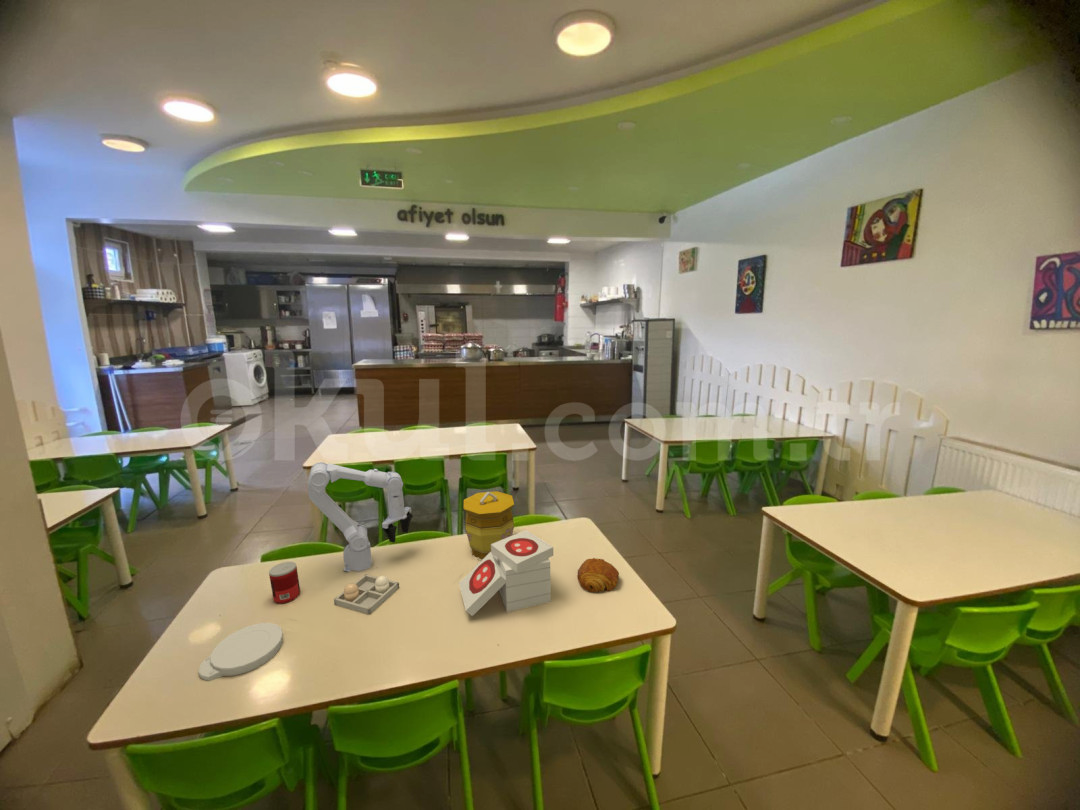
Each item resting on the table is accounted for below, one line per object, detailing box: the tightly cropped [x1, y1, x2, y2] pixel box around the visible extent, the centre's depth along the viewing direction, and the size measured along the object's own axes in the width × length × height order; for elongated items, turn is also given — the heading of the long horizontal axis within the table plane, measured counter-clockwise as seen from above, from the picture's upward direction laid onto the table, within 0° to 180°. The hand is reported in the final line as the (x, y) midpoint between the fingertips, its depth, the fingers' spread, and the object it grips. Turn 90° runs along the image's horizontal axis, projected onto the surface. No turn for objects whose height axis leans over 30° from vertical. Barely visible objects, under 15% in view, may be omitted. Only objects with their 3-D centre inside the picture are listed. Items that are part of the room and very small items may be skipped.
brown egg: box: [343, 582, 359, 602], centre depth 142 cm, size 4×4×6 cm
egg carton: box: [333, 574, 400, 615], centre depth 145 cm, size 14×14×3 cm
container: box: [463, 491, 515, 561], centre depth 171 cm, size 21×21×25 cm
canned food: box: [268, 561, 301, 605], centre depth 145 cm, size 8×8×11 cm
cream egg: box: [375, 575, 390, 594], centre depth 146 cm, size 4×4×6 cm
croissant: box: [577, 557, 620, 593], centre depth 152 cm, size 14×16×8 cm
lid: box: [198, 622, 284, 681], centre depth 121 cm, size 17×20×3 cm
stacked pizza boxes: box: [458, 529, 554, 617], centre depth 143 cm, size 19×30×18 cm, turn 108°
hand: (399, 536), depth 166 cm, fingers open, 7 cm apart
